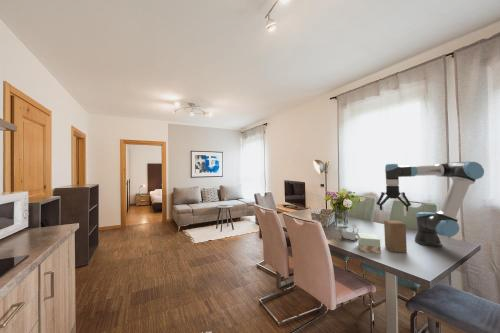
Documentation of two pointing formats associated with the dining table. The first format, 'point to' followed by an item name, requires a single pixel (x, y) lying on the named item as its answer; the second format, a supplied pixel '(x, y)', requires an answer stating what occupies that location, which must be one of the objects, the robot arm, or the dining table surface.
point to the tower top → (368, 239)
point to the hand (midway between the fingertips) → (393, 215)
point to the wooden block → (395, 236)
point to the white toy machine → (351, 234)
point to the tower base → (370, 249)
